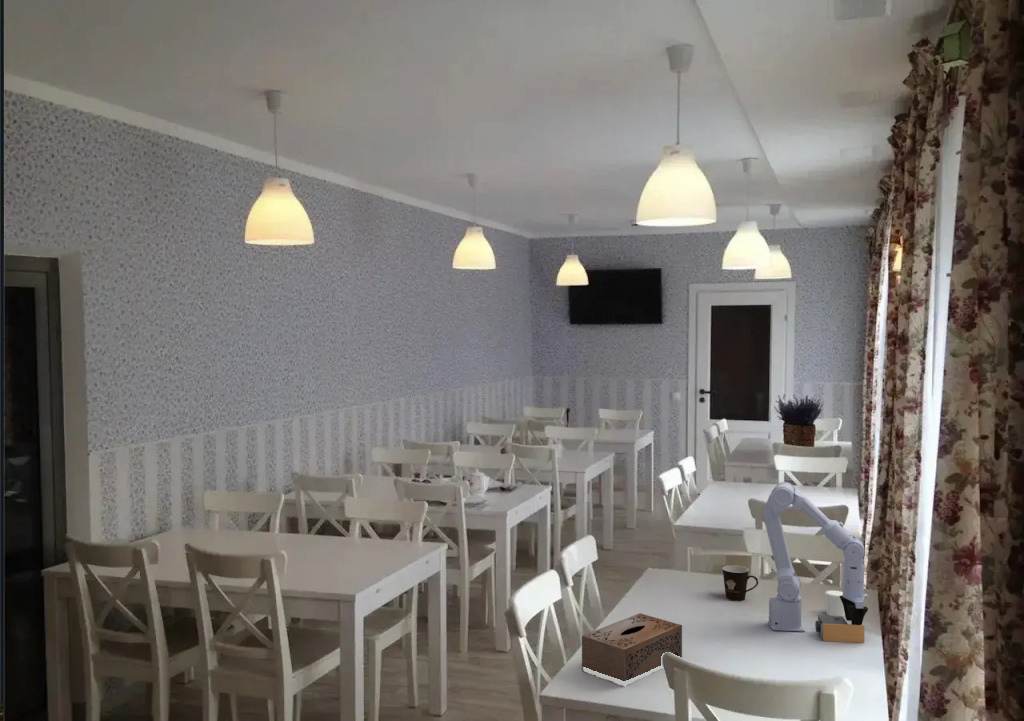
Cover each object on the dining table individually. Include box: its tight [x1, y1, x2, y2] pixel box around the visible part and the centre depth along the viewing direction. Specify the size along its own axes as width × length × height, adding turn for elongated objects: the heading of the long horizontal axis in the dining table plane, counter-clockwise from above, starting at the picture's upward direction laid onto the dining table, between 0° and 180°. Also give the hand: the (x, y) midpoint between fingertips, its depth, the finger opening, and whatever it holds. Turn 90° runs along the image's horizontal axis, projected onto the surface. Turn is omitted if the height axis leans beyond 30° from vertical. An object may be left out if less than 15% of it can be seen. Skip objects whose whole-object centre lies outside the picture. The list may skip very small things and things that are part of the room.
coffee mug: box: [722, 565, 759, 602], centre depth 294 cm, size 12×9×10 cm
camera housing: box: [814, 614, 848, 637], centre depth 259 cm, size 8×7×6 cm
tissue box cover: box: [581, 613, 683, 681], centre depth 238 cm, size 26×14×10 cm, turn 135°
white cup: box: [824, 589, 845, 618], centre depth 278 cm, size 7×7×7 cm
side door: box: [820, 623, 865, 644], centre depth 255 cm, size 12×1×5 cm, turn 82°
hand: (853, 624), depth 260 cm, fingers open, 7 cm apart
